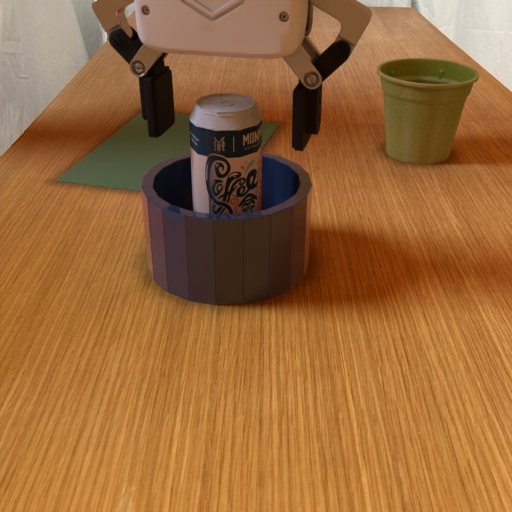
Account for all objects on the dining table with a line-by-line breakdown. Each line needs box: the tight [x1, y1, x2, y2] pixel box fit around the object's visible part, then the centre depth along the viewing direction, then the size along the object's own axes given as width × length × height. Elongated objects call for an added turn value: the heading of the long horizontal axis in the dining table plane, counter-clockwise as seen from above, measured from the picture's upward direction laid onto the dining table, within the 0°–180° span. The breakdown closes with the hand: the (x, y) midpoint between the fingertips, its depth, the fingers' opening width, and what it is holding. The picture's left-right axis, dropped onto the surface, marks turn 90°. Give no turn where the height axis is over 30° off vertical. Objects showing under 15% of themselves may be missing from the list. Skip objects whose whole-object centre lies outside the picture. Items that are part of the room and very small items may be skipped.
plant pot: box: [376, 57, 480, 165], centre depth 67 cm, size 9×9×9 cm
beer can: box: [189, 92, 263, 214], centre depth 48 cm, size 5×5×12 cm
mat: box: [55, 111, 280, 193], centre depth 69 cm, size 16×20×1 cm
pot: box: [140, 151, 313, 306], centre depth 49 cm, size 12×12×7 cm
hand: (230, 137), depth 46 cm, fingers open, 9 cm apart
